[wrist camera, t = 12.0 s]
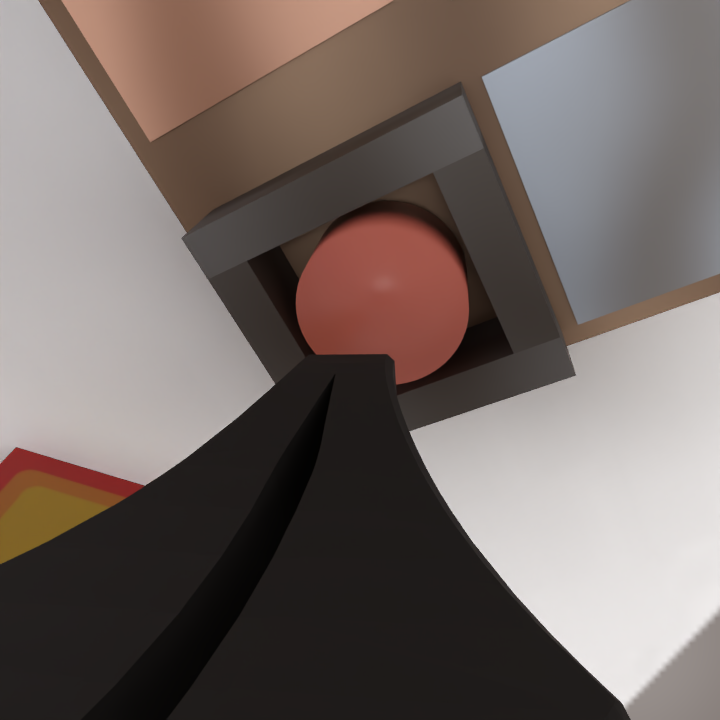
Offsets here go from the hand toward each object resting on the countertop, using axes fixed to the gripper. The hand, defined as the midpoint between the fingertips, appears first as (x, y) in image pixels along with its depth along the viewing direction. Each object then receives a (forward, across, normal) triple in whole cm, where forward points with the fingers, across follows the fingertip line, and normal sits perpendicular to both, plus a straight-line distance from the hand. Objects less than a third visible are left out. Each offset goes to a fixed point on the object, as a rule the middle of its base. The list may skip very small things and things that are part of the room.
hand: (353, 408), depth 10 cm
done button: (+6, 0, 0) cm, 6 cm away
